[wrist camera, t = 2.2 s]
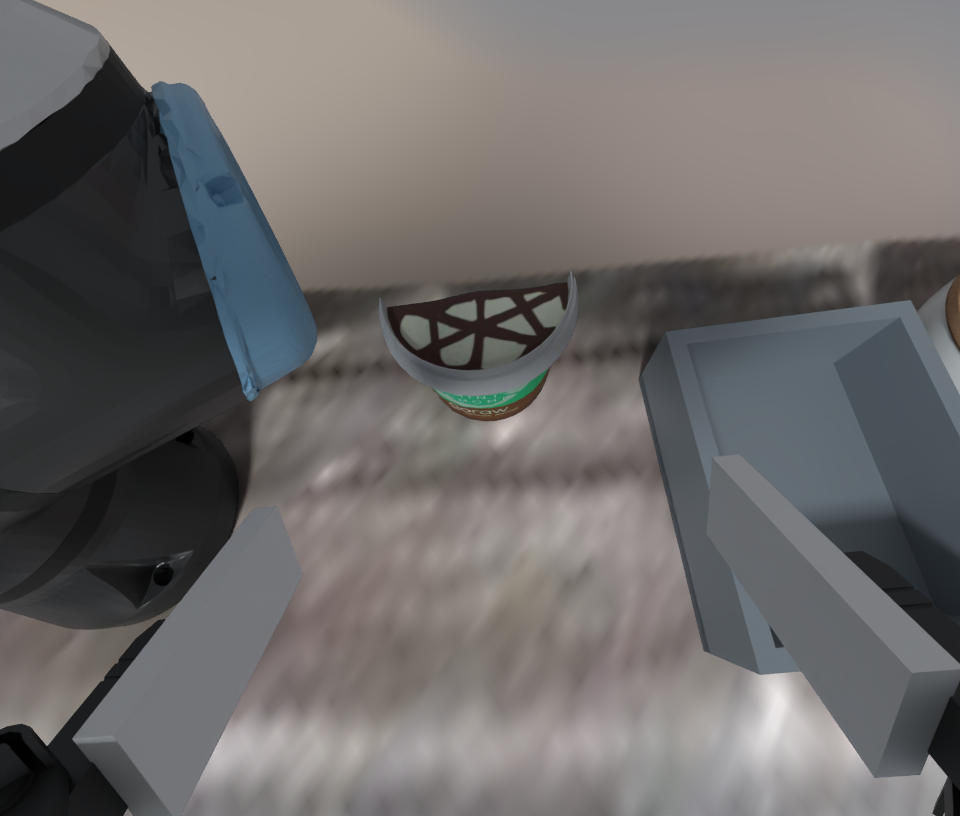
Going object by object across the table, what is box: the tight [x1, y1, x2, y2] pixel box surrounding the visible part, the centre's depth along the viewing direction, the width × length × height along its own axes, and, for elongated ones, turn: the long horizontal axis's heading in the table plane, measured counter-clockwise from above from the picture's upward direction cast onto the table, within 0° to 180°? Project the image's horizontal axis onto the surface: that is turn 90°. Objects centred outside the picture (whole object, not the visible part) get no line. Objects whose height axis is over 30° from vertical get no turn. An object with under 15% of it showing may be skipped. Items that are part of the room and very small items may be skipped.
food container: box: [378, 271, 579, 421], centre depth 29 cm, size 12×6×10 cm, turn 95°
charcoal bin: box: [639, 300, 960, 675], centre depth 26 cm, size 14×18×7 cm
